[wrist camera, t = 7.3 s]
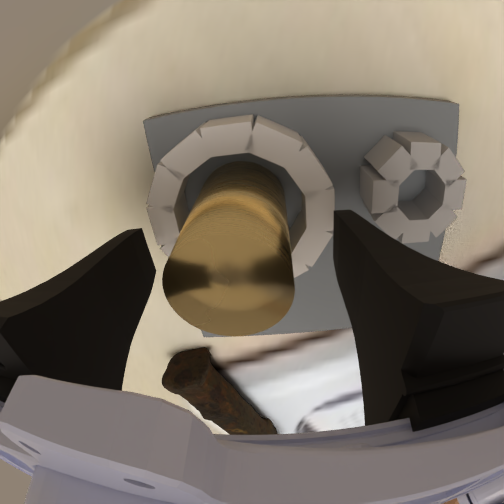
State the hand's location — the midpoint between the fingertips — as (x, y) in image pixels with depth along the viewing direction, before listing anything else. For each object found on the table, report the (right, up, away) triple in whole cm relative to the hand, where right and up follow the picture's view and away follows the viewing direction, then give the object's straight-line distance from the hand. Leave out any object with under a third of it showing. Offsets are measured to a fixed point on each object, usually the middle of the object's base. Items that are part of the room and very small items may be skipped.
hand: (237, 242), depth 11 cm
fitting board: (+4, +1, +5) cm, 6 cm away
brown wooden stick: (0, -14, +16) cm, 22 cm away
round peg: (0, +2, +3) cm, 4 cm away
